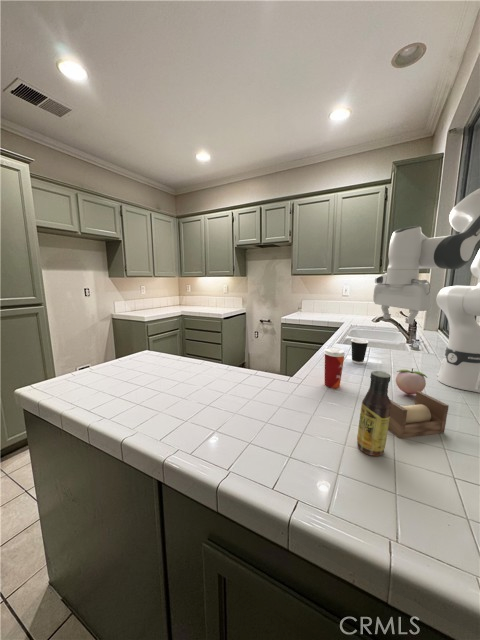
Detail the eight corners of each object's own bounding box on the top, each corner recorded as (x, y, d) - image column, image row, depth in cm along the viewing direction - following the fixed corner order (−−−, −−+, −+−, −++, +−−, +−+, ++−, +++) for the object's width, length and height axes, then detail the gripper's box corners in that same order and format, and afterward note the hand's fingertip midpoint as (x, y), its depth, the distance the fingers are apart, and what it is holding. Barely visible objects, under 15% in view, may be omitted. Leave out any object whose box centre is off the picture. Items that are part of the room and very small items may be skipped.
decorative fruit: (397, 398, 93) (400, 370, 91) (392, 388, 101) (395, 363, 99) (428, 402, 90) (432, 374, 89) (420, 392, 98) (424, 366, 96)
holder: (416, 415, 81) (419, 391, 80) (444, 432, 73) (448, 405, 71) (375, 420, 78) (378, 394, 77) (399, 438, 70) (403, 410, 68)
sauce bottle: (351, 441, 68) (358, 368, 65) (374, 441, 68) (383, 367, 65) (365, 459, 61) (374, 378, 58) (391, 458, 62) (401, 377, 59)
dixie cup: (369, 363, 130) (372, 341, 128) (359, 365, 126) (362, 343, 124) (355, 358, 137) (357, 338, 135) (345, 361, 132) (347, 339, 131)
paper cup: (344, 390, 99) (347, 354, 96) (322, 388, 100) (325, 352, 98) (340, 382, 106) (343, 348, 104) (320, 380, 108) (323, 346, 105)
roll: (415, 416, 79) (417, 401, 78) (430, 426, 74) (433, 409, 73) (388, 420, 77) (390, 403, 76) (402, 429, 72) (404, 412, 71)
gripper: (440, 279, 77) (434, 326, 79) (386, 278, 96) (383, 315, 99) (422, 279, 75) (416, 327, 78) (371, 278, 95) (368, 316, 97)
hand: (397, 320), depth 88 cm, fingers open, 8 cm apart
